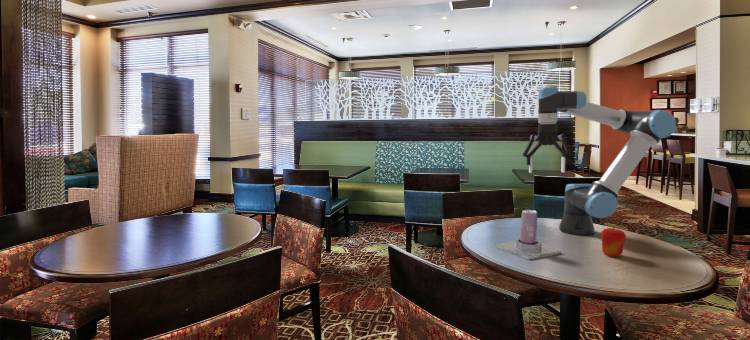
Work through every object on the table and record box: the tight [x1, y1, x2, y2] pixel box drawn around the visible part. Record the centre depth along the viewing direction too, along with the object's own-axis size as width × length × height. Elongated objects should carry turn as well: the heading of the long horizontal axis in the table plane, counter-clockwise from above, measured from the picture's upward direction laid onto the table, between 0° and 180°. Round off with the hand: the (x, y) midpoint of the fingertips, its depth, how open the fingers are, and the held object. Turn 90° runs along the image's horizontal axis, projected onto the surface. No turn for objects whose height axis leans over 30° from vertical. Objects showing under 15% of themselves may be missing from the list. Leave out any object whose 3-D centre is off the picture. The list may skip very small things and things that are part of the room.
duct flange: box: [494, 237, 563, 261], centre depth 168 cm, size 18×18×4 cm
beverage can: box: [520, 209, 538, 244], centre depth 167 cm, size 6×6×15 cm
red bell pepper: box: [600, 226, 627, 258], centre depth 161 cm, size 9×8×12 cm
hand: (546, 172), depth 180 cm, fingers open, 13 cm apart
